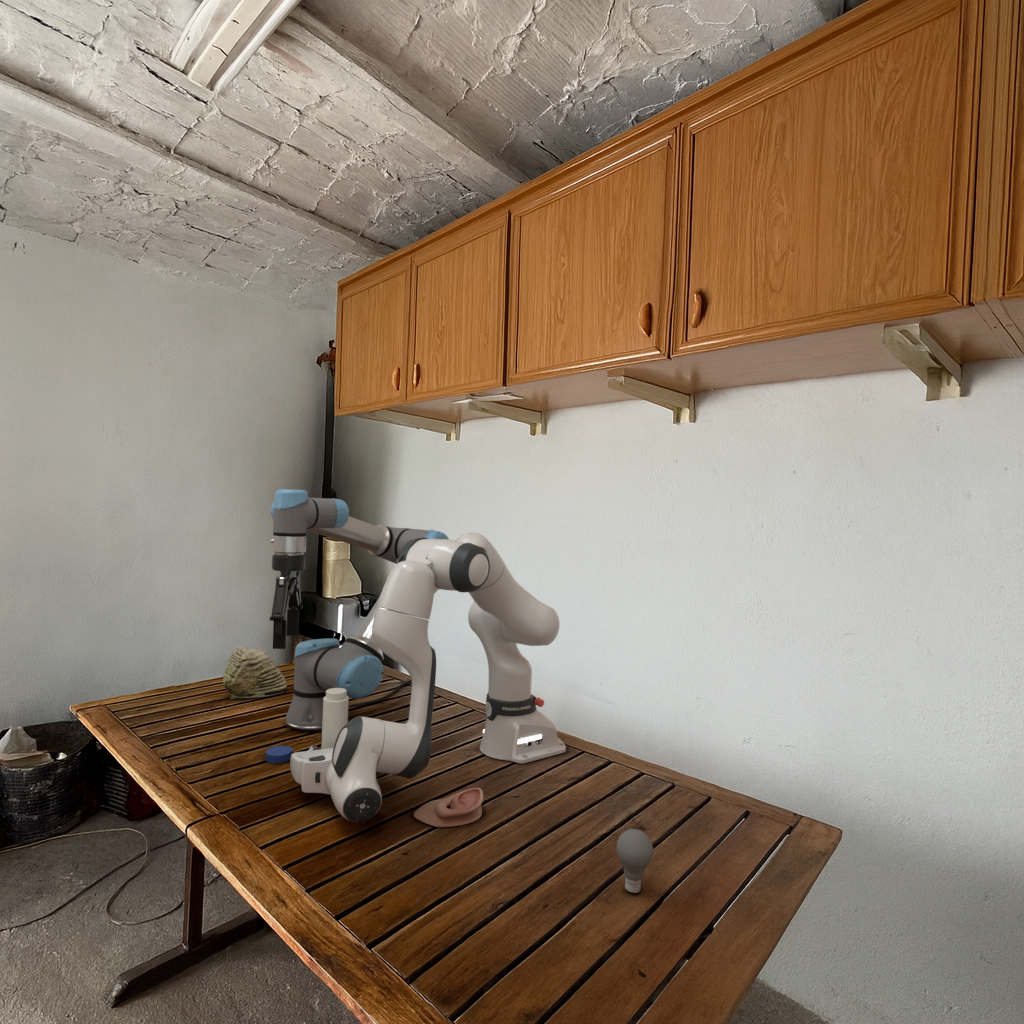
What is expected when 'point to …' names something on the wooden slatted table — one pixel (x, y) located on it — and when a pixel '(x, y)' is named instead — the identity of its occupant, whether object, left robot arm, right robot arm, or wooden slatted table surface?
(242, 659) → the fossil
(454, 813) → the anatomical model
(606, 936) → the wooden slatted table surface
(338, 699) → the bottle
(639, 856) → the light bulb
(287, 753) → the lid
